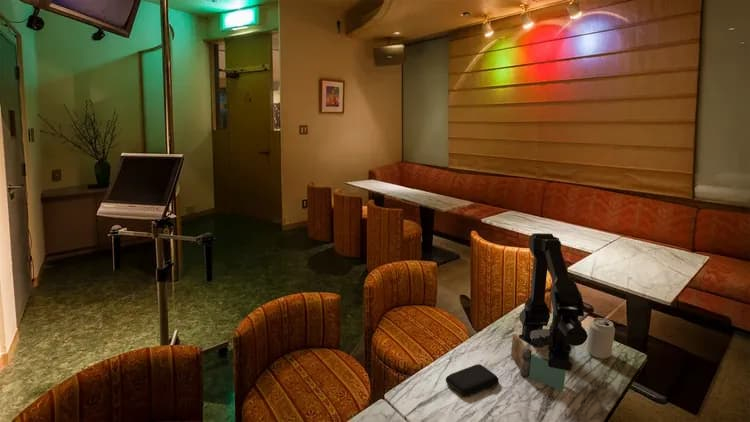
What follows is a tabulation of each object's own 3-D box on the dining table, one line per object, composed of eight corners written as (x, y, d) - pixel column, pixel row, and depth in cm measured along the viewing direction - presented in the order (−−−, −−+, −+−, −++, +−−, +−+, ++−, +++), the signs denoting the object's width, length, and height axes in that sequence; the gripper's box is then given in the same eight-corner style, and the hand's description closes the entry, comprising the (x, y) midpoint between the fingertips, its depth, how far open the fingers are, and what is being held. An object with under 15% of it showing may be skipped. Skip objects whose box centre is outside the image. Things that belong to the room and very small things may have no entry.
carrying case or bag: (466, 403, 125) (503, 387, 133) (466, 394, 125) (504, 378, 132) (442, 383, 134) (479, 369, 142) (443, 374, 134) (479, 360, 141)
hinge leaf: (519, 374, 138) (521, 352, 136) (522, 370, 139) (524, 349, 138) (561, 392, 129) (564, 369, 127) (564, 388, 131) (567, 365, 129)
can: (613, 361, 145) (619, 328, 142) (589, 358, 147) (594, 326, 144) (607, 349, 152) (611, 317, 149) (583, 346, 154) (588, 315, 151)
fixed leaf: (530, 377, 137) (533, 352, 134) (522, 377, 136) (524, 353, 134) (516, 355, 148) (518, 332, 146) (508, 355, 148) (510, 332, 146)
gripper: (534, 308, 142) (529, 350, 146) (532, 337, 125) (527, 385, 129) (571, 313, 138) (566, 357, 142) (575, 345, 121) (568, 393, 125)
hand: (556, 372), depth 135 cm, fingers closed
